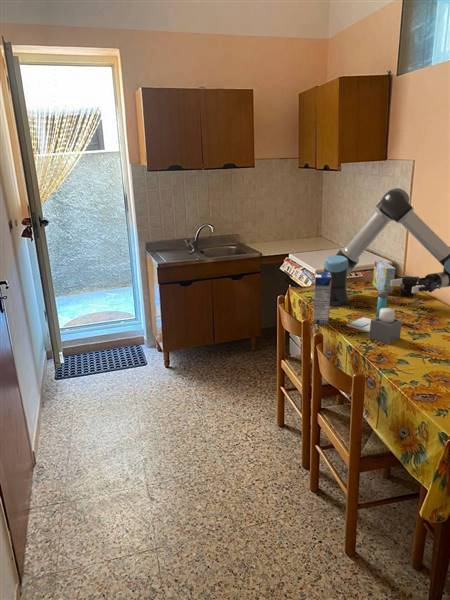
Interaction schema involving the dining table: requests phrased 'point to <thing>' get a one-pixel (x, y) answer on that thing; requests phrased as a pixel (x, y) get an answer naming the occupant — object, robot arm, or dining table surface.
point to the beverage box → (322, 298)
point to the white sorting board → (361, 324)
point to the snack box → (383, 276)
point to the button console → (385, 330)
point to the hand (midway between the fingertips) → (401, 286)
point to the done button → (387, 315)
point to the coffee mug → (407, 288)
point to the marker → (381, 300)
